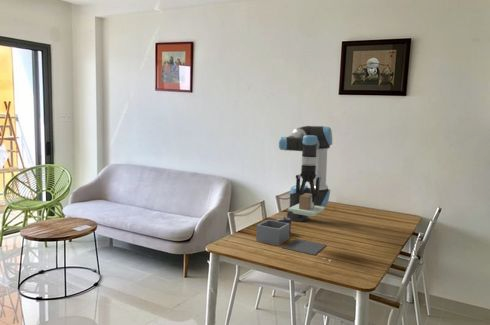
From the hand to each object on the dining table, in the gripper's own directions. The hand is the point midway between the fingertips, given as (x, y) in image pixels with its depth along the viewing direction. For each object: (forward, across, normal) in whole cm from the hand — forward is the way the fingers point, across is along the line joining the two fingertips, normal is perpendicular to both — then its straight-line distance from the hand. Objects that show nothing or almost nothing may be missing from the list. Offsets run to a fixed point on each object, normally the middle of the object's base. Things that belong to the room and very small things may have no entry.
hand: (306, 207), depth 211 cm
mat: (+22, 0, 0) cm, 22 cm away
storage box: (+22, -20, +1) cm, 30 cm away
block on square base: (+3, 0, 0) cm, 3 cm away
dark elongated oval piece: (+22, -20, +15) cm, 34 cm away
